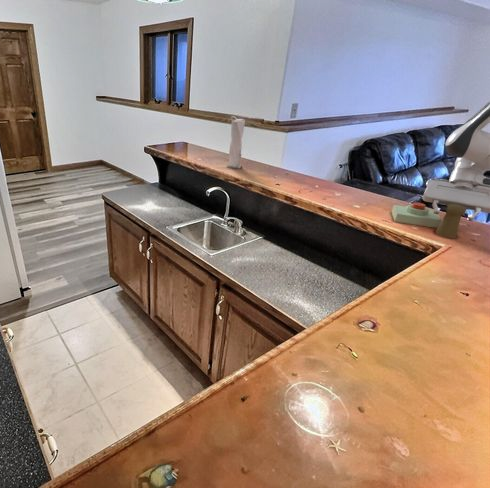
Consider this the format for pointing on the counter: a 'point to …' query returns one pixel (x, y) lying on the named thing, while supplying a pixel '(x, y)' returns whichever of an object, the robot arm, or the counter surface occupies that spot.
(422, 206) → the release button
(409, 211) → the button base
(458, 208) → the cork
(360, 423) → the counter surface
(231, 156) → the skyscraper
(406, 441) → the counter surface
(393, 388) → the counter surface
